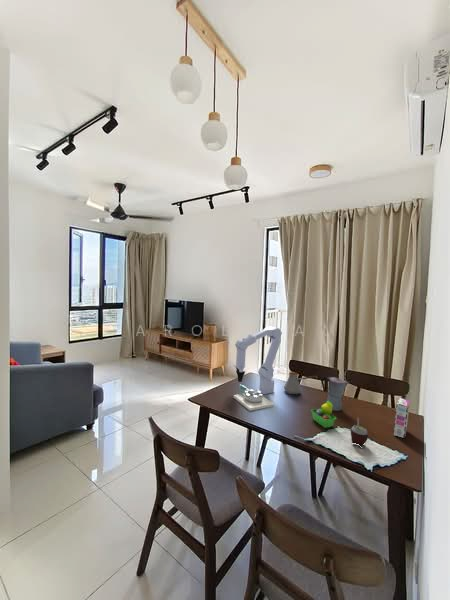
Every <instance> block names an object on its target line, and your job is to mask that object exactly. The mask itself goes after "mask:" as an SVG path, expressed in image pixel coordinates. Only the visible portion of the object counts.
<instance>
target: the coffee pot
mask: <svg viewBox="0 0 450 600" xmlns="http://www.w3.org/2000/svg"><path fill="white" fill-rule="evenodd" d="M288 376H289V377H288V379H287V380H286V382H285V384H284V386H283V390H284V391H285V392H286V393H287V394H289V395H292V394H296V395H299V394H300V393H301V391H302V388H301V387H302V386H301V385H300V380H306V379H312V378H313V379H314V378H316V379H317V380H318V377H317V375H311V376H310V375H309V376H306V377H300V378H298V376H299V373H297V372H288Z"/></svg>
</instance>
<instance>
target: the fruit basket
mask: <svg viewBox="0 0 450 600" xmlns="http://www.w3.org/2000/svg"><path fill="white" fill-rule="evenodd" d="M332 407H333V405H332V404H331V402H329V401H327V400H326V402H325V403H323V404H322V405H321V407H320V408H314V409H311V413H312V414H311V415H312V419H313V420H314V421H315V422H316V423H317V424H319V425H320V426H322V427H323V428H324V429H325V428H331V427H333V425H334V423H335V421H336V420H337V417H336V416H334V415H333V414H332V412H333V410H332Z"/></svg>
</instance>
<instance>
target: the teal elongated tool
mask: <svg viewBox="0 0 450 600" xmlns="http://www.w3.org/2000/svg"><path fill="white" fill-rule="evenodd" d="M238 392H240V393H241V394H245V395H244V399H245V400H246V401H248V402H252V403H259V402H261V401H262V398H263V397H264V394H262V393H261V392H260V391H257V390H256V391H255V390H254V389H249V388H247V386H245V385H242V383H241V384H239V386H238Z"/></svg>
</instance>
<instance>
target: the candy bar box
mask: <svg viewBox="0 0 450 600" xmlns="http://www.w3.org/2000/svg"><path fill="white" fill-rule="evenodd" d="M410 402H411V401H410V400H409V399H405V398H401V397H398V400H397V402H396V405H395V406H396V407H395V416H394V424H393V436H394V437H396V436H398V437H397V438H399V437H402V438H405V439H406V435H407V430H408V423H409V412H410ZM402 438H401V439H402Z"/></svg>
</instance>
